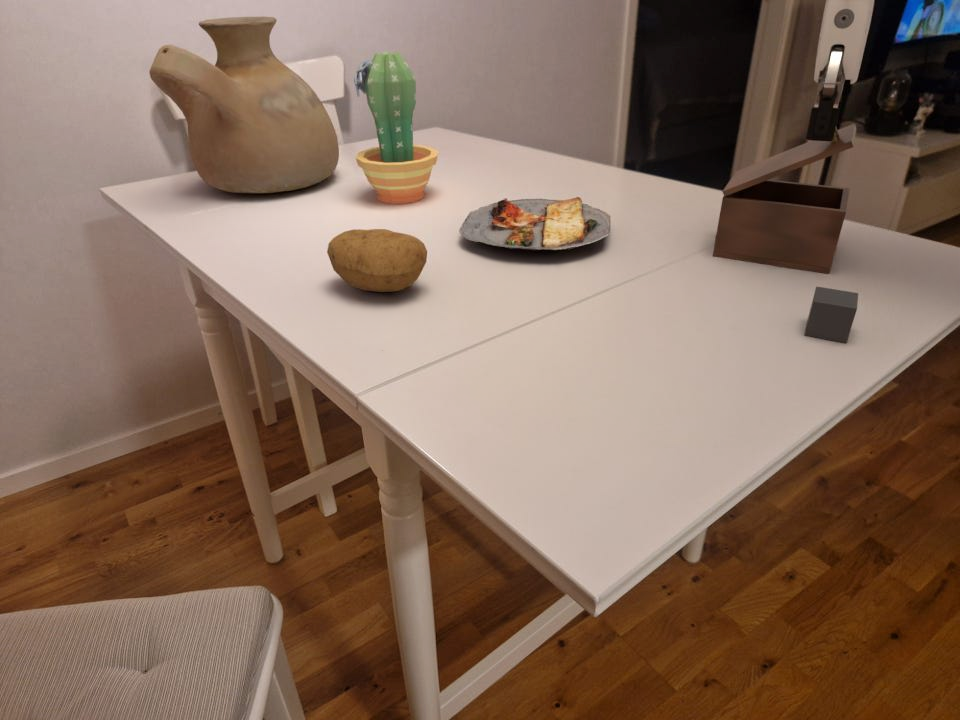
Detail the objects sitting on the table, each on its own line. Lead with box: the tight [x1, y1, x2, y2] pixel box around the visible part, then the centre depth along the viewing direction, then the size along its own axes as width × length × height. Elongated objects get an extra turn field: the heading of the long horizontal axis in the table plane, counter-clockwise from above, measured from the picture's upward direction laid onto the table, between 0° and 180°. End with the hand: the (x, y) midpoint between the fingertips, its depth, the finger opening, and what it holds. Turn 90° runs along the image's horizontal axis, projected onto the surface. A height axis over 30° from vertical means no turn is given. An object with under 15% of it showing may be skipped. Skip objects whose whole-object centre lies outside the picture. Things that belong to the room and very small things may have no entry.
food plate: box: [458, 196, 612, 251], centre depth 105 cm, size 25×23×4 cm
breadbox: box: [712, 179, 851, 275], centre depth 96 cm, size 16×12×9 cm
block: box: [804, 286, 859, 344], centre depth 75 cm, size 4×4×4 cm
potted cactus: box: [353, 51, 439, 205], centre depth 119 cm, size 15×15×25 cm
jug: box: [148, 16, 340, 194], centre depth 126 cm, size 29×34×30 cm
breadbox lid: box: [722, 123, 857, 196], centre depth 91 cm, size 16×12×5 cm
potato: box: [326, 228, 428, 293], centre depth 87 cm, size 10×14×8 cm
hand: (821, 134), depth 88 cm, fingers closed on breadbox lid, 5 cm apart
